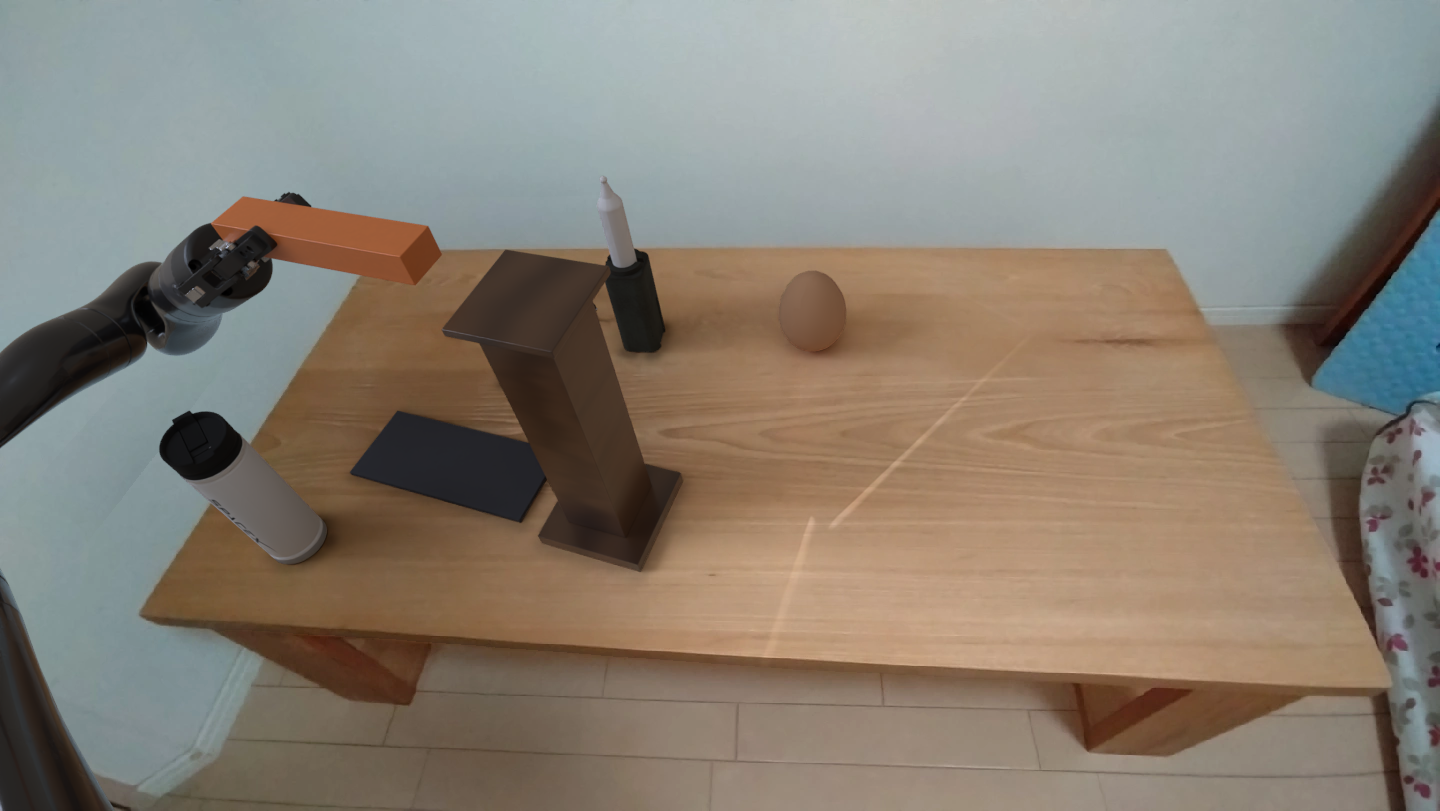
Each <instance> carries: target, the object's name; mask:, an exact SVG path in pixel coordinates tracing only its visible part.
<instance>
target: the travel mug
mask: <svg viewBox="0 0 1440 811" xmlns="http://www.w3.org/2000/svg"><path fill="white" fill-rule="evenodd" d="M171 421H172V425H170V426H169V428H168V429H167V430H166V431H165V432H164V433H163V435H162V437H161V439H160V441H159V446H158V452H159V456H160V458H161V459H162V461H163V462H164V463H165V464H167V465H168V466H169V467H170V468H171V469H173V470H174V471H175V472H176V473H177V475H179V476H180V477H181V478H182V479H183V480H184V481H185V482H186V483H187V484H188V485H190V486H191V488H193V489H194V490H195V491H196V492H198V493H199V495H200V496H202V497H203V498H204V499H205V500H206V501H207V502H209V503H210V504H211V505H212V506H213V507H215V508H216V509H217V510H218V511H219V512H220V513H221V514H223V515H224V516H225V517H226V518H227V519H228V520H229V521H230V522H232V523H233V524H234V525H235V526H236V527H237V528H238V529H240V531H242V532H243V533H244V534H245V535H246V536H247V537H248V538H250V539H251V540H252V541H253V542H254V543H255V544H257V545H258V546H259V547H260V548H261V549H262V550H263V551H265V552H266V553H267V554H268V555H269V556H270V557H271V558H272V559H273V560H275V561H276V562H277V563H279V564H282V565H295V564H299V563H302V562H305V561H306V560H308V559H309V558H311V557H312V556H313V555H315V554H316V553H317V552H318V551H319V550H320V549H321V548H322V547H323V545H324V542H325V540H326V537H327V533H328V528H327V524H326V522H325V521H324V520H323V519H322V518H321V517H320V515H318V514H317V513H316V512H315V511H314V509H313V508H312V507H311V506H310V504H308V503H307V502H306V501H305V500H304V499H303V498H302V497H301V496H300V494H298V493H297V492H296V491H295V490H294V488H293V487H291V485H289V483H288V482H287V481H286V480H285V478H283V477H282V476H281V475H280V474H279V473H278V472H277V471H276V470H275V469H274V468H273V467H272V466H271V465H270V464H269V463H268V461H267V460H266V459H264V457H263V456H262V455H261V454H260V453H259V452H258V451H257V450H256V449H255V448H254V447H253V446H252V445H251V444H250V442H248V441H247V440H246V439H245V438H244V437H243V436H242V435H241V433H239V432H238V431H237V430H235V428H234V427H233V426H232V425H231V424H230V423H229V422H228V421H227V420H226V418H224V416H222V415H221V414H220V413H217V412H214V411H209V410H208V411H207V410H206V411H196V412H194V413H193V412H192V411H191V410H186V411H185V412H183V413H182V414H180V415H178V416H176V417H174V418H173V419H171Z"/></svg>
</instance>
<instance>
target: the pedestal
mask: <svg viewBox="0 0 1440 811" xmlns="http://www.w3.org/2000/svg"><path fill="white" fill-rule="evenodd" d="M610 274H611V272H610V268H609V266H605V264H599V263H592V262H587V261H580V260H574V259H567V258H561V257H556V256H549V255H542V254H535V253H529V252H525V251H518V250H512V249H504V250H503V251H502V253H501V254H500V255H499V257H498V258H497V259H496V260H495V261H494V263H493V264H492V266H491V267H490V268H489V269H488V271H487V272H486V273H485V274H484V275H483V277H482V278H481V279H480V281H479V282H478V283H477V284H476V285H475V286H474V288H473V289H472V290H471V292H470V293H468V295H467V297H466V298H464V301H463V302H462V303H461V304H460V305H459V306H458V308H457V309H456V310H455V312H454V313H453V314H452V315H451V316H450V318H449V319H448V320H447V322H446V323H445V324H444V325H443V326H442V328H441V332H442V333H443V335H444V337H446V338H451V339H457V340H461V341H466V342H470V343H475V344H479V346H480V347H481V350H482V352H483V354H484V356H485V358H486V360H487V362H488V364H489V366H490V368H491V371H492V372H493V375H494V376H495V377H496V380H497V382H498V384H499V386H500V388H501V390H502V392H503V394H504V396H505V398H506V400H507V402H508V404H509V406H510V408H511V410H512V412H513V414H514V416H515V418H516V420H517V422H518V425H519V426H520V428H521V430H522V432H523V434H524V436H525V438H526V440H527V443H529V444H530V446H531V448H532V450H533V452H534V454H535V456H536V458H537V460H538V462H539V464H540V466H541V468H542V470H543V472H544V474H545V476H546V478H547V479H546V481H547V482H548V484H549V486H550V488H551V490H552V492H553V494H554V496H555V498H556V502H555V504H554V506H553V508H552V510H551V512H550V513H549V515H548V516H547V518H546V520H545V522H544V524H543V526H542V527H541V529H540V531H539V533H538V534H537V538H538V539H539V541H540V543H541V544H543V545H546V546H550V547H553V548H557V549H560V550H563V551H567V552H571V553H574V554H577V555H579V556H583V557H587V558H591V559H595V560H598V561H601V562H605V563H607V564H612V565H615V566H618V567H622V568H626V569H629V570H632V571H636V572H639V573H641V572H642V571H643V568H644V566H645V564H646V562H647V559H648V557H649V555H650V553H651V550H652V549H653V547H654V544H655V542H656V540H657V538H658V536H659V533H660V531H661V529H662V527H663V524H664V523H665V521H666V518H667V516H668V514H669V511H670V510H671V508H672V505H673V503H674V501H675V499H676V497H677V495H678V492H679V491H680V488H681V486H682V484H683V482H684V479H683V476H682V472H680V471H677V470H672V469H668V468H664V467H660V466H656V465H652V464H648V463H645V460H644V457H643V453H642V450H641V446H640V443H639V441H638V438H637V434H636V432H635V428H634V425H633V422H632V419H631V416H630V413H629V410H628V407H627V404H626V400H625V397H624V393H623V391H622V388H621V384H620V381H619V378H618V375H617V372H616V369H615V365H614V363H613V359H612V357H611V353H610V350H609V347H608V343H607V340H606V337H605V334H604V332H603V331H604V330H603V328H602V325H601V322H600V319H599V316H598V313H597V311H596V309H595V306H594V304H595V303H594V300H595V298H596V296H597V295H598V294H599V292H600V290H601V289H602V287H603V286H604V285H605V281H606V280H607V278H608V277H609V275H610Z"/></svg>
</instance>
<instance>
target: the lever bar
mask: <svg viewBox="0 0 1440 811" xmlns="http://www.w3.org/2000/svg"><path fill="white" fill-rule="evenodd" d="M210 223H211V225H212V226H213V227H214V229H215V230H216V231H217V233H218V234H219V235H220V237H221V238H222V239H223V240H224V241H227V242H230V241H231V242H232V241H234V240H237V239H238V238H240V237H241V236H242V235H243V234H245V233H246V232H247V231H248V230H250V229H251V228H252V227H253V226H255V225H257V226H259V227H261V228H262V229H263V230H264V231H265V232H266V233H267V234H268V235H269V236H270V237H272V238H273V239H274V240H275V241H276V243H277V246H276V247H275V248H274V249H273V250H272V251H271V252H269V253H268V254H267V255H265V256H264V257H266V258H272V260H278V261H284V262H288V263H294V264H298V265H304V266H310V267H315V268H319V269H326V270H330V271H335V272H340V273H346V274H352V275H358V276H362V277H367V278H373V279H378V280H383V281H389V282H394V283H399V284H404V285H410V286H416V285H418V283H419V282H420V281H421V280H422V279H423V278H424V276H425V275H426V274H427V273H428V272H429V271H430V269H431V268H432V267H433V266H434V265H435V264H436V262H438V261H439V259H440V258H441V257H442V256H443V253H442V251H441V250H440V247H439V245H438V243H437V241H436V239H435V236H434V234H433V233H432V231H431V228H430V226H429V225H426V224H419V223H413V222H407V221H401V220H393V219H388V218H381V217H376V216H369V215H363V214H356V213H352V212H351V213H350V212H344V211H338V210H332V209H326V208H319V207H313V206H312V207H307V206H301V205H294V204H288V203H282V202H276V201H274V200H270V199H262V198H256V197H251V196H245V195H244V196H241V197H240V198H239V199H238V200H236V201H235V202H234V203H233V204H232V205H231V206H230V207H229V208H227V209H226V210H224V211H223V212H222V213H221V214H220V215H219V216H218V217H217V218H216V219H214V220H212V221H211V222H210Z"/></svg>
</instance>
